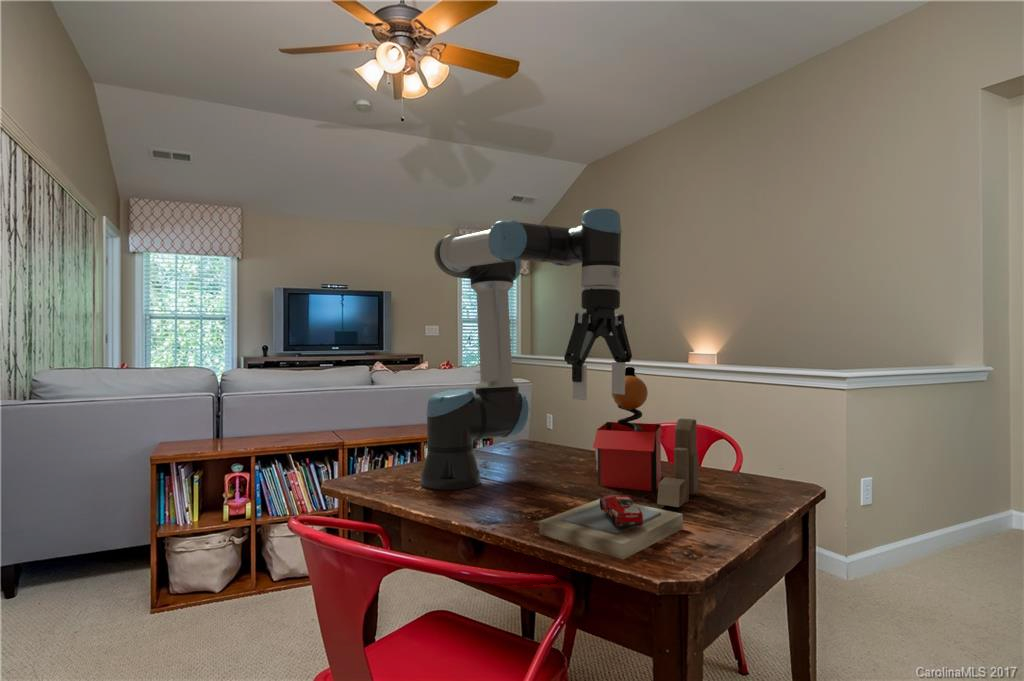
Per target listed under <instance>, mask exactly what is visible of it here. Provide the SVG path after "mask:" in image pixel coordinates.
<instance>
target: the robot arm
mask: <svg viewBox="0 0 1024 681" xmlns="http://www.w3.org/2000/svg"><path fill="white" fill-rule="evenodd" d="M580 223H581V224H580V225H577V226H573V227H563V226H556V225H548V224H547V225H545V224H536V223H528V222H521V221H516V220H498V221H496V222H494V224H493V226H491V228H490V229H486V230H482V231H479V232H473V233H469V234H465V233H456V232H455V233H452V234H448V235H445V236H443V237H442V238H440V240H438V242H437V243H436V245H435V246H434V247H435V248H434V252H433V253H434V255H433V256H434V261H435V263H436V265H437V266H438V268H439V269H440V270H441V271H442V272H443V273H445V274H446V275H448V276H451V277H454V278H457V279H466V280H467V279H469V281H470V288H471V289H472V290H473V291H474V292H475V293H476V303H477V305H476V306H477V330H478V352H479V370H480V371H479V375H480V380H479V383H477V385H476V386H475V390H474V391H475V392H474V391H473V390H472V389H469V388H467V389H464V388H463V389H462V388H461V389H451V390H445V391H441V392H436V393H434V394H432V395H431V396H429V398H428V399H427V409H426V421H427V423H426V428H427V429H426V430H427V431H426V432H427V433H426V436H427V439H426V442H427V452H426V456H425V459H424V464H423V467H422V471H421V472H420V485H421V486H422V487H424V488H426V489H431V490H437V491H438V490H439V491H452V490H453V491H454V490H455V491H456V490H464V489H469V488H473V487H476V486H478V485H480V483H481V473H480V471H479V467H478V462H477V460H476V457H475V454H474V440H483V439H493V438H495V439H496V438H507V437H511V436H516V435H519V434H520V433H521V432H522V431H523V430H524V428H525V427H526V424H527V422H528V419H529V402H528V400H527V397H526V395H525V393H523V392H521V391H519V390H520V389H519V388H520V387H519V384H518V383H517V382H516V381H514V379H513V364H512V344H511V343H512V342H511V323H510V306H509V305H510V304H509V303H510V302H509V300H510V299H509V292H510V290H511V289H512V287H513V286H514V281H516V280H517V278H519V275H520V273H521V272H520V270H521V268H522V262H523V261H526V262H539V263H549V264H550V263H551V264H553V265H554V266H558V267H562V266H566V267H569V266H572V265H576V264H581V278H580V279H581V287H582V288H584V289H583V290H582V291H581V303H580V304H581V308H582V309H583V310H586V311H585V312H576V313H575V314H574V325H573V327H572V328H573V329H572V331H571V334H570V337H569V338H570V339H568V340H569V342H568V345H567V347H566V351H565V354H564V357H563V358H564V361H565V362H566V364H567V365H571V381H572V399H573V400H577V401H578V400H579V401H587V397H588V396H587V395H588V394H587V392H588V391H587V390H588V389H587V388H588V381H587V380H588V365H587V364H585V363H586V362H585V361H586V360H587V358H588V357H589V356H588V355H589V354H590V352H591V350H592V348H593V345H594V344H595V341H596V340H597V339H598V338H600V337H601V338H602V339H604V340H605V343H606V345H607V348H608V349H609V351H610V353H611V355H612V358H613V360H614V361H611V395H612V394H622V395H623V394H625V369H626V363H631V361H632V360H631V359H632V358H633V354H632V349H631V345H630V343H629V339H628V337H629V336H628V334H627V331H626V326H625V315H624V314H619V313H618V314H617V313H616V314H615V311H616V310H618V309H620V307H621V291H620V290H619V289H618V288H620V286H621V276H620V275H621V274H622V273H621V272H622V271H621V252H622V251H621V243H622V242H621V241H622V240H621V239H622V237H621V236H622V231H623V230H622V226H621V224H622V223H621V215H620V213H619V211H617V210H616V209H613V208H603V207H602V208H600V207H599V208H591V209H588V210H585V211H584V212H583V213H582V217H581V222H580ZM474 393H475V394H474Z"/></svg>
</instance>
